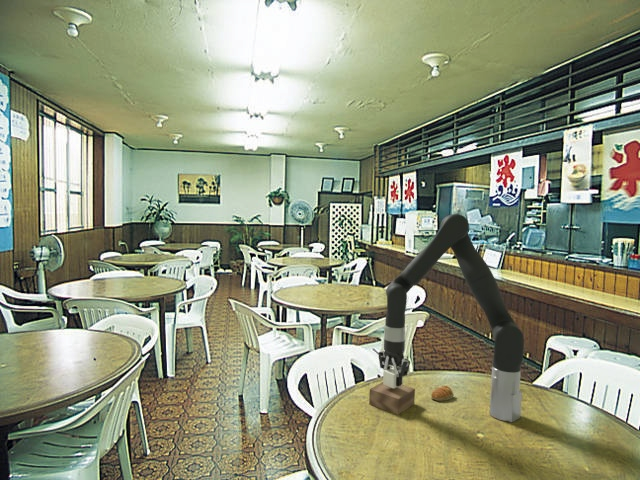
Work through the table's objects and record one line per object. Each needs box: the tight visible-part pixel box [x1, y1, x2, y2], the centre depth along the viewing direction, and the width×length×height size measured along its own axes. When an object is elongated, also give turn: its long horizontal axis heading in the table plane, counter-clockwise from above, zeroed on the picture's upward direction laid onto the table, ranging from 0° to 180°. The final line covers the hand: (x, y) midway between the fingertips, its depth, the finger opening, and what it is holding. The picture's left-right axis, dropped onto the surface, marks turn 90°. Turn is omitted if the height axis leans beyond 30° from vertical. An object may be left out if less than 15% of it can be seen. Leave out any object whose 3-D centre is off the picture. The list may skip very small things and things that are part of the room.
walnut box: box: [368, 381, 416, 416], centre depth 159 cm, size 12×12×6 cm
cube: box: [382, 367, 404, 388], centre depth 159 cm, size 5×5×5 cm
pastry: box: [430, 385, 455, 402], centre depth 166 cm, size 9×7×4 cm
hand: (392, 383), depth 159 cm, fingers closed on cube, 4 cm apart
